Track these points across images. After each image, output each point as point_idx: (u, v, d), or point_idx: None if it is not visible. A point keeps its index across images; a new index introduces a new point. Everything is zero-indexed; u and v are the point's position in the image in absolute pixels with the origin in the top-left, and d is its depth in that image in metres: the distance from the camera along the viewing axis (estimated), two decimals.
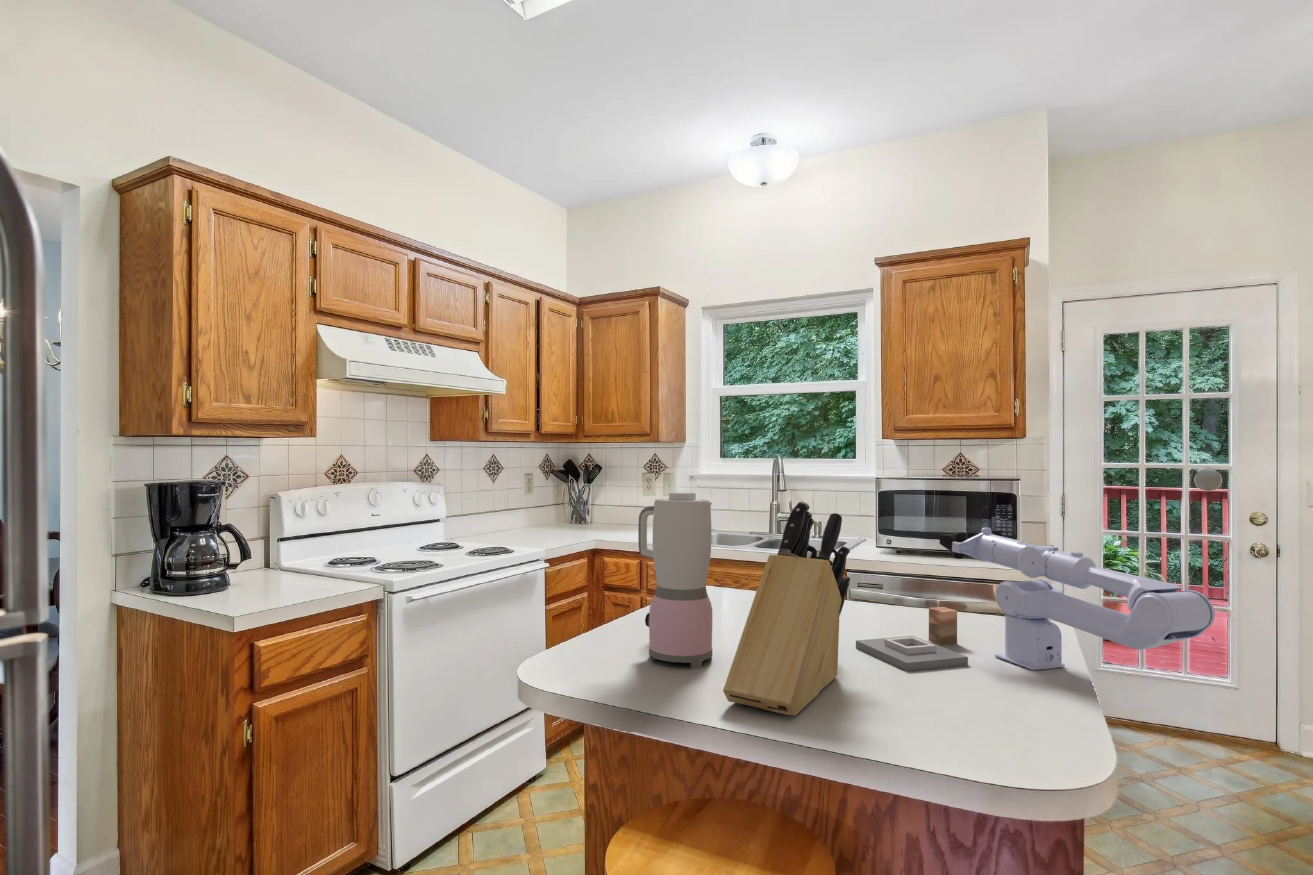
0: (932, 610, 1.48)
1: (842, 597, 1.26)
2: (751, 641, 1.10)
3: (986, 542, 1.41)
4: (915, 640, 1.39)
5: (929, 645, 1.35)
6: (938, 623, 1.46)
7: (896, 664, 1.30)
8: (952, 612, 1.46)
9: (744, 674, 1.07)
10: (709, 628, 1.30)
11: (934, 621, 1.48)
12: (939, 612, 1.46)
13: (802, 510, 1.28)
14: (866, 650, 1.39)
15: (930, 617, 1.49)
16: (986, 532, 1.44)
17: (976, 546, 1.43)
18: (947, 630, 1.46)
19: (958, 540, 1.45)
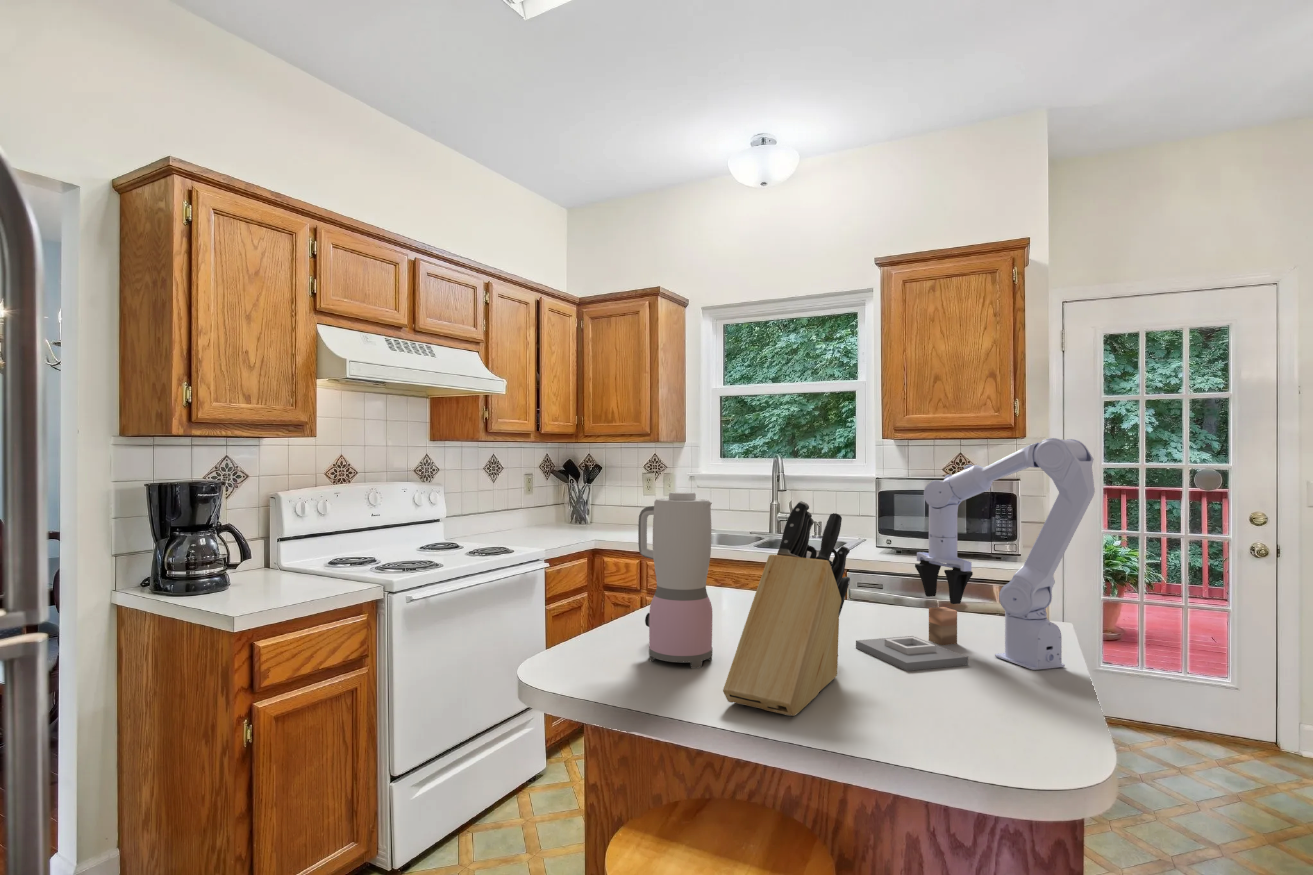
0: (932, 610, 1.48)
1: (842, 597, 1.26)
2: (751, 641, 1.10)
3: (944, 547, 1.46)
4: (915, 640, 1.39)
5: (929, 645, 1.35)
6: (938, 623, 1.46)
7: (896, 664, 1.30)
8: (952, 612, 1.46)
9: (744, 674, 1.06)
10: (709, 628, 1.30)
11: (934, 621, 1.48)
12: (939, 612, 1.46)
13: (802, 510, 1.28)
14: (866, 650, 1.39)
15: (930, 617, 1.49)
16: (931, 557, 1.47)
17: (951, 557, 1.46)
18: (947, 630, 1.46)
19: (956, 571, 1.43)
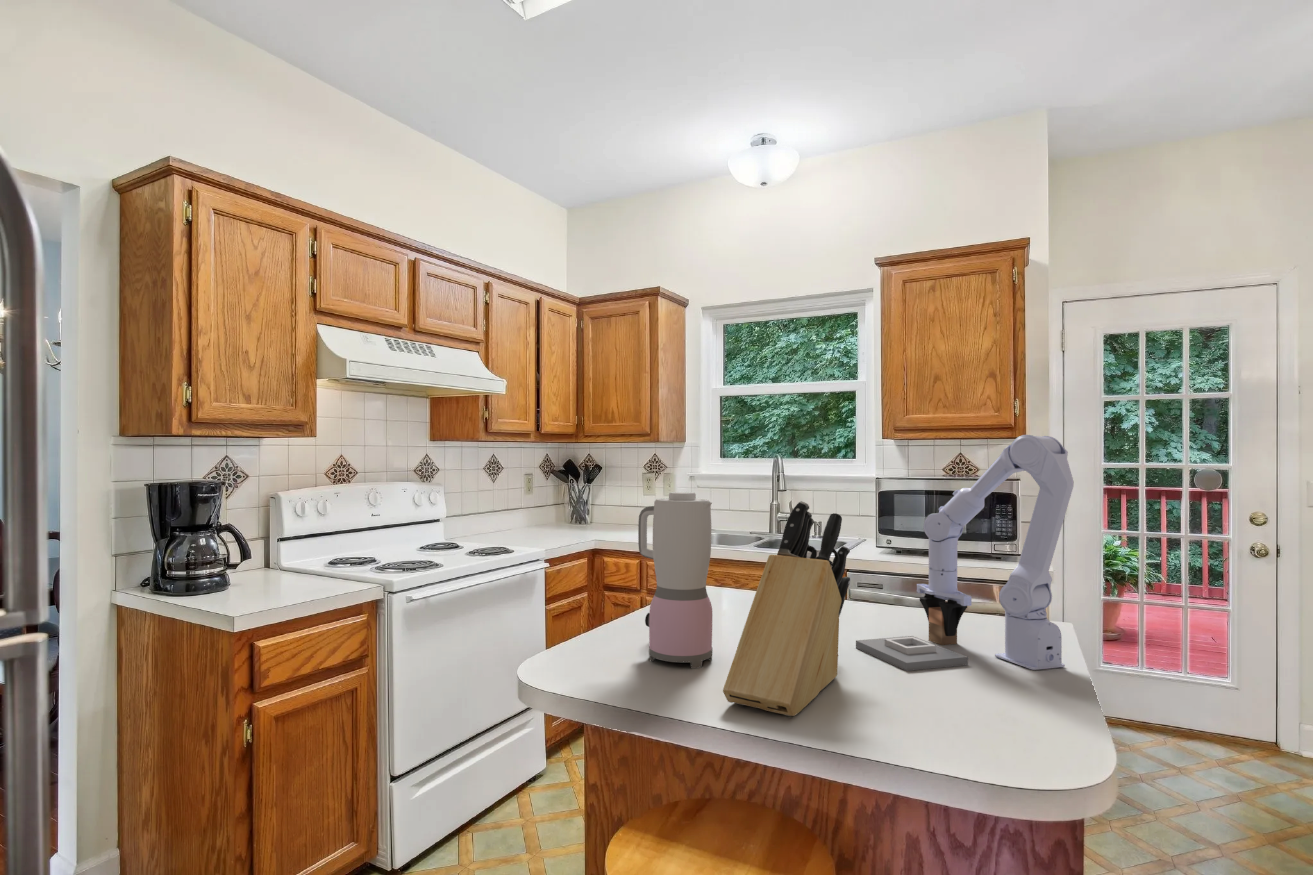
0: (932, 610, 1.48)
1: (842, 597, 1.26)
2: (751, 641, 1.10)
3: (944, 580, 1.45)
4: (915, 640, 1.39)
5: (929, 645, 1.35)
6: (938, 623, 1.46)
7: (896, 664, 1.30)
8: None
9: (744, 674, 1.06)
10: (709, 628, 1.30)
11: (934, 621, 1.48)
12: (939, 612, 1.46)
13: (802, 510, 1.28)
14: (866, 650, 1.39)
15: (930, 617, 1.49)
16: (931, 590, 1.47)
17: (951, 591, 1.45)
18: None
19: (951, 603, 1.44)
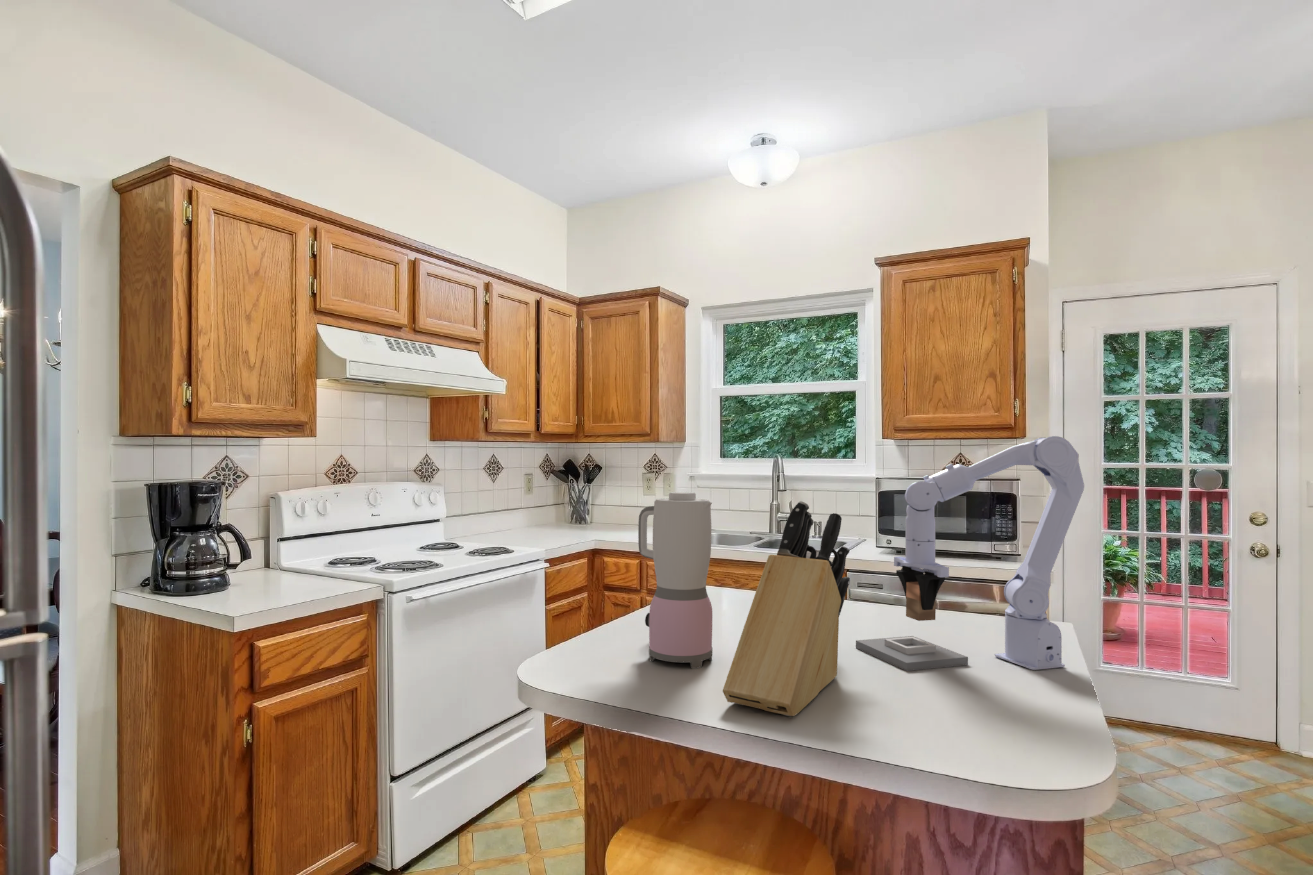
0: (910, 584, 1.41)
1: (842, 597, 1.26)
2: (751, 641, 1.10)
3: (921, 551, 1.38)
4: (915, 640, 1.39)
5: (929, 645, 1.35)
6: (915, 598, 1.39)
7: (896, 664, 1.30)
8: None
9: (744, 674, 1.06)
10: (709, 628, 1.30)
11: (911, 596, 1.40)
12: (917, 586, 1.39)
13: (802, 510, 1.28)
14: (866, 650, 1.39)
15: (908, 592, 1.41)
16: (908, 562, 1.40)
17: (928, 563, 1.38)
18: None
19: (928, 575, 1.37)
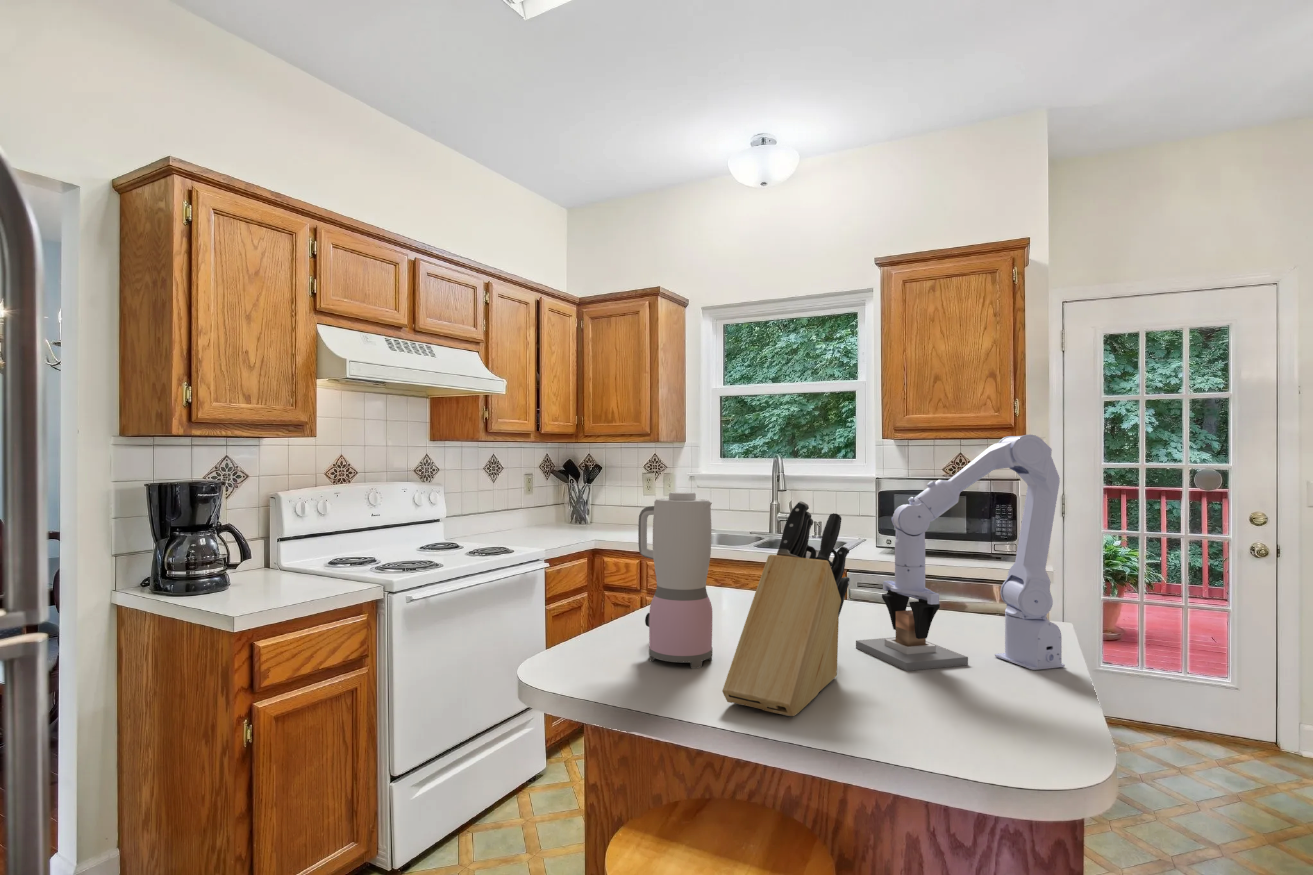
0: (899, 614, 1.37)
1: (841, 597, 1.26)
2: (750, 641, 1.10)
3: (911, 577, 1.35)
4: None
5: (929, 645, 1.35)
6: (905, 628, 1.35)
7: (896, 664, 1.30)
8: None
9: (744, 674, 1.06)
10: (709, 628, 1.30)
11: (901, 625, 1.37)
12: (906, 616, 1.35)
13: (802, 510, 1.28)
14: (866, 650, 1.39)
15: (897, 621, 1.38)
16: (897, 588, 1.36)
17: (918, 588, 1.34)
18: (915, 636, 1.35)
19: (922, 603, 1.32)
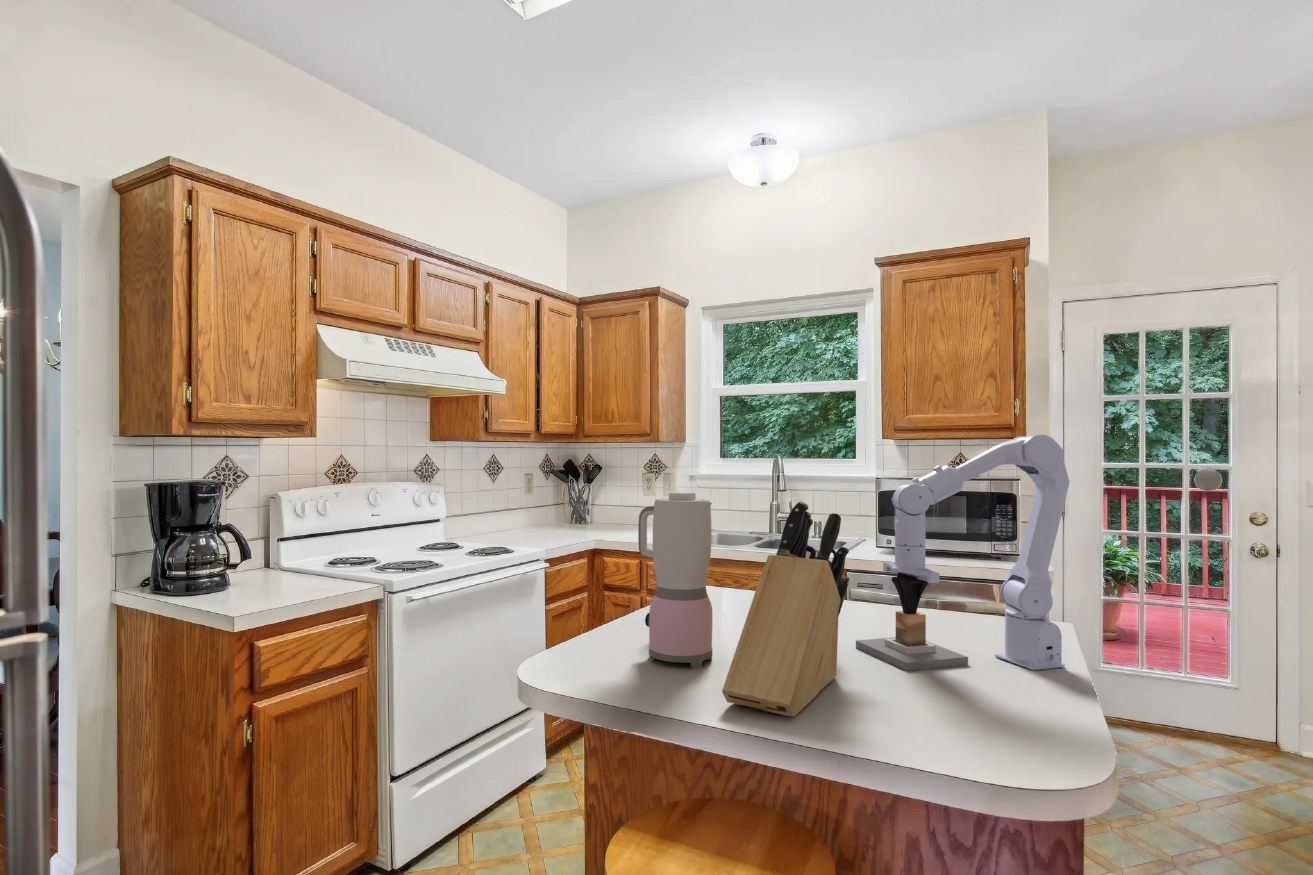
0: (899, 614, 1.37)
1: (841, 597, 1.26)
2: (750, 641, 1.10)
3: (911, 556, 1.35)
4: None
5: (929, 645, 1.35)
6: (905, 628, 1.35)
7: (896, 664, 1.30)
8: (920, 616, 1.35)
9: (743, 674, 1.06)
10: (709, 628, 1.30)
11: (901, 626, 1.37)
12: (906, 616, 1.35)
13: (801, 510, 1.28)
14: (866, 650, 1.39)
15: (897, 621, 1.38)
16: (897, 567, 1.36)
17: (918, 568, 1.35)
18: (915, 636, 1.35)
19: (911, 579, 1.35)
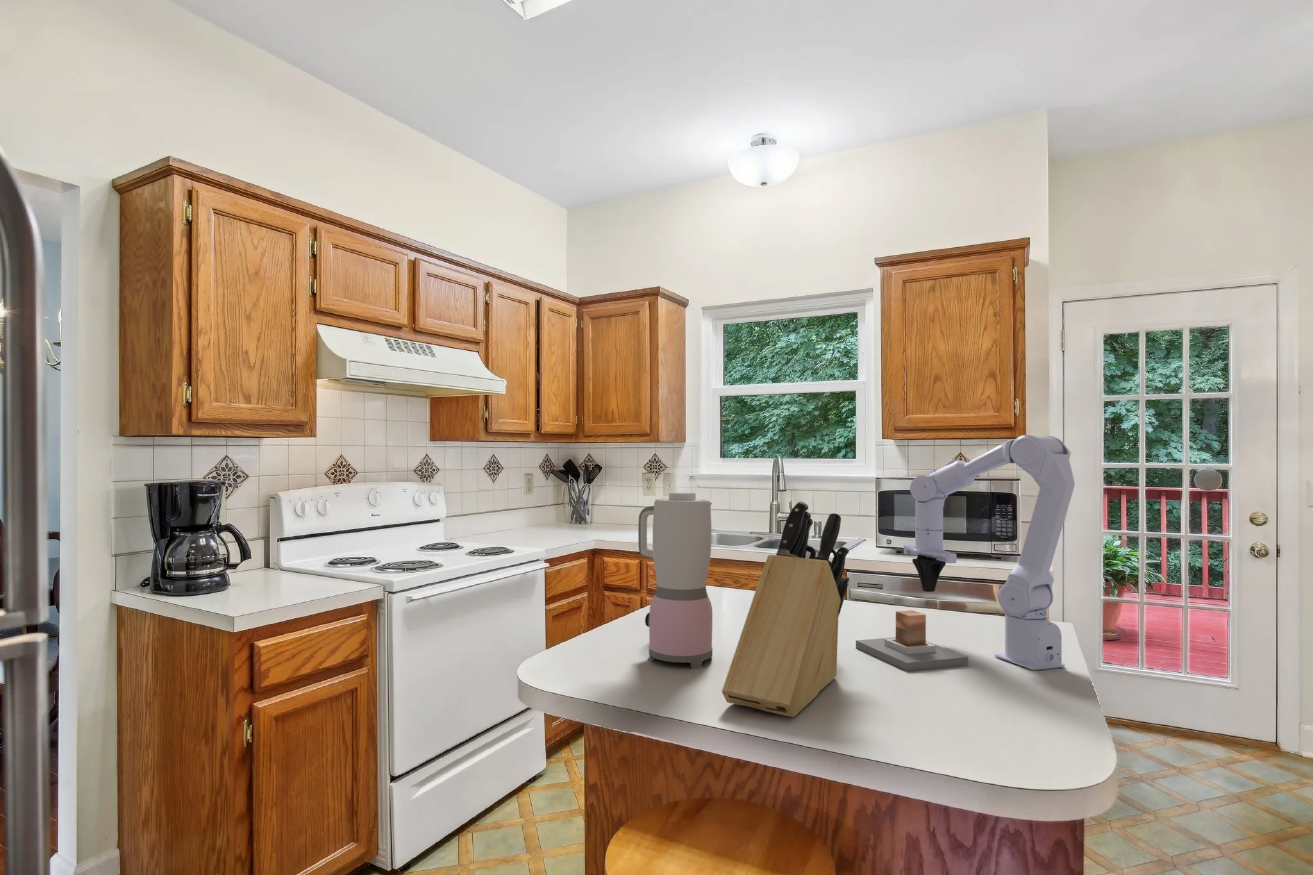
0: (899, 614, 1.37)
1: (841, 597, 1.26)
2: (750, 641, 1.10)
3: (930, 539, 1.50)
4: None
5: (929, 645, 1.35)
6: (905, 628, 1.35)
7: (896, 664, 1.30)
8: (920, 616, 1.35)
9: (743, 674, 1.06)
10: (709, 628, 1.30)
11: (901, 625, 1.37)
12: (906, 616, 1.35)
13: (801, 510, 1.28)
14: (866, 650, 1.39)
15: (897, 621, 1.38)
16: (918, 550, 1.51)
17: (937, 550, 1.50)
18: (915, 636, 1.35)
19: (930, 560, 1.50)
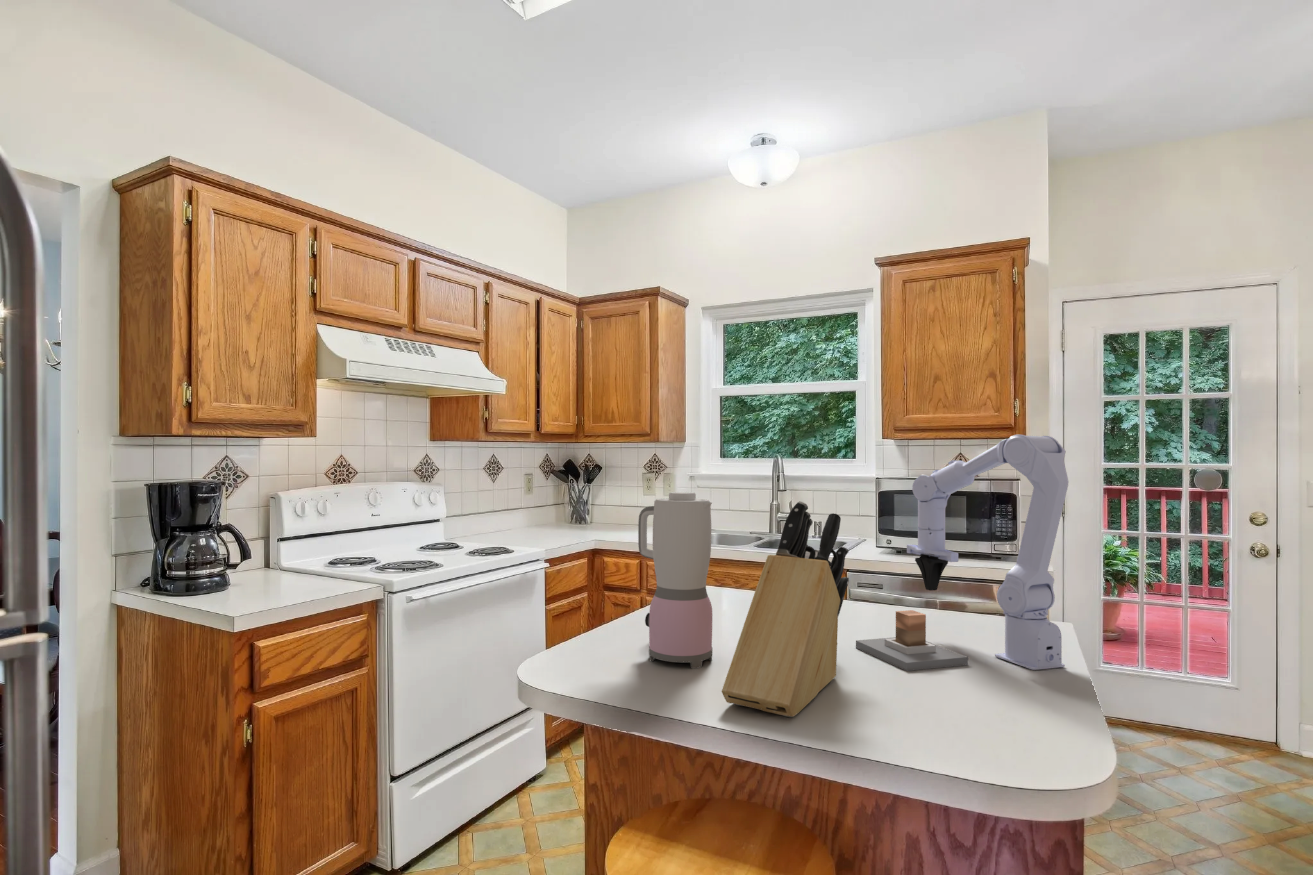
0: (899, 614, 1.37)
1: (841, 597, 1.26)
2: (750, 642, 1.10)
3: (933, 539, 1.52)
4: None
5: (929, 645, 1.35)
6: (905, 628, 1.35)
7: (896, 664, 1.30)
8: (920, 616, 1.35)
9: (743, 675, 1.06)
10: (709, 628, 1.30)
11: (901, 625, 1.37)
12: (906, 616, 1.35)
13: (801, 510, 1.28)
14: (866, 650, 1.39)
15: (897, 621, 1.38)
16: (920, 549, 1.54)
17: (939, 549, 1.52)
18: (915, 636, 1.35)
19: (933, 559, 1.52)
